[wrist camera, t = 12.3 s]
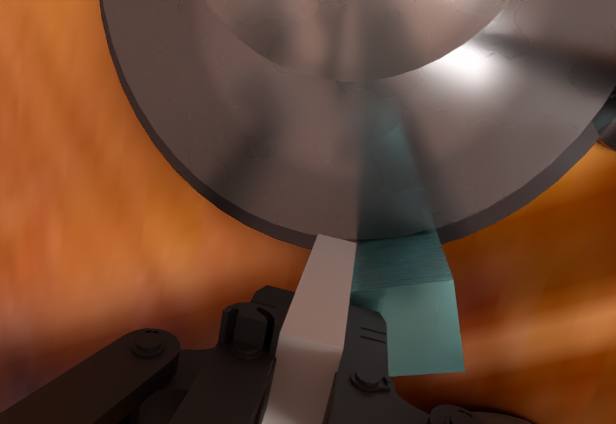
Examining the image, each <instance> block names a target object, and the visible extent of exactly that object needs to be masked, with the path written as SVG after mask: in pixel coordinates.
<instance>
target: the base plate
mask: <svg viewBox="0 0 616 424" xmlns="http://www.w3.org/2000/svg"><path fill="white" fill-rule="evenodd" d="M99 1H100V9H101V17H102V22H103V26H104V30H105V34H106V38H107V42H108V47H109V51H110V54H111V57H112V60H113V63H114V65H115V68H116V71H117V74H118V77H119V79H120V82H121V85H122V87H123V89H124V91H125V93H126V96H127V98H128V100H129V102H130V104H131V106H132V108H133V110H134V112H135V114H136V116H137V118H138V119H139V121H140V122H141V124H142V126H143V127H144V129H145V130H146V132H147V133H148V135H149V137H150V138H151V140H152V141H153V143H154V144H155V146H156V147H157V148H158V149H159V151H160V152H161V153H162V154H163V156H164V157H165V158H166V159H167V161H168V162H169V163H170V164H171V166H172V167H173V168H174V169H175V170H176V171H177V172H178V173H179V174H180V175H181V176H182V177H183V178H184V179H185V180H186V181H187V182H188V183H189V184H190V185H191V186H192V187H193V188H194V189H195V190H196V191H197V192H198V193H200V194H201V195H202V196H204V197H205V198H206V199H207V200H209V201H210V202H211V203H213V204H214V205H215V206H216V207H218V208H219V209H220V210H222V211H223V212H225V213H227V214H228V215H230V216H232V217H233V218H235V219H237V220H238V221H240V222H241V223H243V224H245V225H246V226H248V227H251V228H253V229H255V230H257V231H259V232H262V233H264V234H266V235H268V236H271V237H273V238H275V239H278V240H281V241H284V242H288V243H291V244H294V245H297V246H300V247H304V248H309V249H312V248H313V246H314V243H315V241H316V238H317V235H312V234H307V233H302V232H299V231H296V230H292V229H289V228H286V227H282V226H279V225H276V224H273V223H271V222H269V221H267V220H264V219H262V218H260V217H257V216H255V215H253V214H251V213H248V212H247V211H245V210H243V209H242V208H240V207H238V206H237V205H235V204H233V203H231V202H230V201H228V200H226V199H225V198H223V197H222V196H220V195H219V194H218V193H216V192H215V191H214V190H212V189H211V188H210V187H209V186H207V185H206V184H205V183H203V182H202V181H201V180H199V179H198V178H197V177H196V176H195V175H194V174H193V173H192V172H191V171H190V170H189V169H188V168H187V167H186V166H185V165H184V164H183V163H182V162H181V161H180V160H179V159H178V158H177V157H176V156H175V155H174V154H173V153H172V151H171V150H170V149H169V148H168V146H167V145H166V144H165V143H164V141H163V140H162V139H161V138H160V137H159V135H158V134H157V133H156V131H155V130H154V128H153V127H152V125H151V124H150V122H149V120H148V119H147V117H146V116H145V114H144V113H143V111H142V109H141V108H140V106H139V105H138V103H137V101H136V99H135V97H134V94H133V92H132V90H131V88H130V86H129V84H128V82H127V80H126V78H125V76H124V74H123V71H122V68H121V65H120V63H119V60H118V57H117V54H116V52H115V49H114V46H113V43H112V39H111V35H110V31H109V27H108V23H107V19H106V15H105V11H104V5H103V0H99ZM615 87H616V86H615ZM614 89H615V88H614ZM614 92H615V93H614ZM613 93H614V95H612V94H613ZM615 95H616V89H615V90H613V91H612V92H611V94H610V96H609V97H608V101H607V100H606V102H605V104H604V105H605V106H604V108H603V106H602V108H601V109H600V110H599V111H600V112H598V113H597V115H596V116H594V118H595V119H594V118H593V119H594V121H593V120H591V121H590V123H589V124H588V125H587V126H586V128H585V129H584V130H583V131H582V133H581V134H580V135H579V136H578V138H577V139H576V140H575V141H573V142H572V143H571V144H570V145H569V146H568V147H567V148H566V149H565V150H564V151H563V152H562V153H561V154H560V155H559V156H558V157H557V158H556V159H555V160H554V161H553V162H552V163H551V164H550V165H549V166H548V167H546V168H545V169H544V170H543V171H541V172H540V173H539V174H538V175H536V176H535V177H534V178H533V179H531V180H530V181H529V182H527V183H526V184H525V185H524V186H522V187H521V188H519V189H518V190H516V191H515V192H513V193H511V194H510V195H508V196H506V197H505V198H503V199H502V200H500V201H498V202H497V203H495V204H493V205H492V206H490V207H488V208H486V209H484V210H481V211H479V212H477V213H475V214H473V215H471V216H468V217H466V218H464V219H462V220H460V221H457V222H454V223H451V224H448V225H445V226H442V227H439V228H436V231H437V234H438V237H439V240H440V243H441V244H443V243H446V242H450V241H453V240H456V239H459V238H462V237H465V236H467V235H469V234H472V233H474V232H476V231H478V230H481V229H483V228H485V227H487V226H490V225H492V224H494V223H496V222H498V221H500V220H501V219H503V218H505V217H506V216H508V215H510V214H511V213H513V212H515V211H516V210H518V209H520V208H522V207H523V206H525V205H527V204H528V203H529V202H531V201H532V200H533V199H535V198H536V197H537V196H538V195H540V194H541V193H542V192H544V191H545V190H546V189H548V188H549V187H550V186H552V185H553V184H554V183H556V182H557V181H558V180H559V179H560V178H561V177H562V176H563V175H564V174H565V173H566V172H567V171H568V170H569V169H570V168H571V167H573V166H574V165H575V164H576V163H577V162H578V161H579V160H580V159H581V158H582V157H583V156H584V155H585V154H586V153H587V152H588V150H589V149H590V148H591V147H592V146H593V144H594V143H595V142H596V141H597V140H598V138H599V137H600V135H599V134H598V133H599V132H601V131H599V132H597V131H598V130H599V128H600V130H602V131H603V129H604V128H605V127H604V126H609V125H610V124H609V123H612V121H613V120H614V119H613V118H614V117H616V112H615V111H616V108H613V107H611V104H612V102H614V103H613V104H612V106H614V107H615V106H616V98H615V97H616V96H615ZM611 96H613V98H614V99H613V100H612V97H611ZM614 96H615V97H614ZM611 101H612V102H611ZM608 102H609V103H608ZM610 102H611V103H610ZM609 105H610V106H609ZM605 107H606V109H607V108H608V109H607V110H608V111H609V110H610V109H612V108H613V111H614V112H613V111H612V110H611V111H612V112H611V111H609V112H610V113H609V112H608V111H606V110H605V111H604V109H605ZM614 109H615V110H614ZM602 110H603V111H602ZM601 112H603V113H601ZM606 112H607V113H606ZM600 113H601V114H600ZM611 113H612V115H610V114H611ZM613 113H614V114H615V116H614V114H613ZM598 114H599V115H598ZM600 115H601V116H600ZM602 115H603V116H602ZM604 115H607V117H608V120H609V118H610V120H611V121H610V120H609V121H610V122H609V123H608V120H606V119H607V118H606V119H605V117H606V116H604ZM612 116H614V117H612ZM597 117H598V118H597ZM602 117H603V118H604V119H603V118H602ZM611 117H612V119H611ZM596 118H597V119H596ZM600 119H601V121H600ZM596 120H599V121H596ZM603 120H605V121H603ZM602 121H603V122H602ZM606 121H607V122H606ZM593 122H595V123H594V124H593ZM598 122H599V123H600V122H601V123H600V125H599V123H598ZM596 123H598V124H597V125H598V126H597V125H596ZM603 123H604V125H603ZM605 123H606V124H607V125H605ZM594 125H595V126H594ZM601 125H602V126H603V127H602V126H601ZM596 126H597V128H595V127H596ZM600 126H601V127H600ZM606 128H607V127H606ZM597 129H598V130H597ZM604 130H605V129H604ZM603 132H604V131H603ZM338 239H340V238H338ZM342 240H346V241H350V242H354V243H356V241H357V239H342Z"/></svg>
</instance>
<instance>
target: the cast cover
mask: <svg viewBox="0 0 616 424" xmlns="http://www.w3.org/2000/svg"><path fill="white" fill-rule="evenodd" d="M205 1H206V2H207V4H208V5H209V7H210V8H211V9H212V10H213V12H214V13H215V14H216V15H217V17H218V18H219V19H220V20H221V22H222V23H223V24H224V25H225V26H226V27H227V28H228V29H229V30H230V31H231V32H232V33H233V34H234V35H235V36H236V37H237V38H238V39H239V40H241V41H242V42H243V43H245V44H246V45H247V46H249V47H250V48H251V49H252V50H254V51H255V52H256V53H258V54H259V55H261V56H263V57H265V58H266V59H268V60H270V61H272V62H274V63H275V64H277V65H279V66H281V67H284V68H287V69H289V70H292V71H294V72H297V73H299V74H303V75H307V76H311V77H315V78H319V79H325V80H335V81H344V82H348V81H371V80H377V79H383V78H389V77H394V76H397V75H400V74H403V73H406V72H410V71H413V70H416V69H419V68H421V67H423V66H425V65H427V64H429V63H432V62H434V61H436V60H438V59H440V58H442V57H444V56H445V55H447V54H449V53H450V52H452V51H454V50H455V49H457V48H458V47H460V46H462V45H463V44H465V43H466V42H467V41H468V40H470V39H471V38H472V37H473V36H475V35H476V34H477V33H479V32H480V31H481V30H482V29H484V28H485V27H486V26H487V25H488V24H489V23H490V22H491V21H492V20H493V19H494V18H495V17H496V16H497V15H498V14H499V13H500V12H501V11H502V10H503V9H504V8H505V7H506V6H507V5H508V4H509V2H510V1H511V0H205Z"/></svg>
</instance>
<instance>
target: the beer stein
mask: <svg viewBox="0 0 616 424" xmlns="http://www.w3.org/2000/svg"><path fill="white" fill-rule="evenodd" d="M472 413H474V414H475V415H476V416H477V417H479V418H480V419H481V420H483V421H484V422H485V423H486V424H532V423H530V422H528V421H526V420H523V419H520V418H516V417H512V416H508V415H505V414H498V413H489V412H472Z"/></svg>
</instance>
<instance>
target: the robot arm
mask: <svg viewBox="0 0 616 424" xmlns="http://www.w3.org/2000/svg"><path fill="white" fill-rule="evenodd" d="M356 244H357V243H354V242H350V241H346V240H342V239H338V238H333V237H329V236H325V235H321V234H318V235H317V238H316V241H315V243H314V246H313V248H312V251H311V254H310V256H309V259H308V261H307V264H306V267H305V269H304V272H303V274H302V277H301V279H300V282H299V285H298V287H297V290H296V292H292V291H288V290H284V289H280V288H276V287H272V286H268V285H267V286H265V287H263V288H262V289H260V290H258V291H256V293H255V294H254V296H253V298H252V300H251V302H250V303H249V302H246V303H236V304H233V305H230V306H228V307H227V308H226V309H225V310H223V313H222V320H221V327H220V333H219V340H218V343H217V345H216V347H215V348H211V349H206V350H180V343H179V341H178V339H177V337H175V336H174V335H172V334H171V333H170V332H167V331H164V330H160V329H148V328H146V329H141V330H135V331H133V332H130V333H128V334H126V335H124V336H122V337H121V338H119V339H118V340H116V341H114V342H113V343H111V344H110V345H108V346H106V347H105V348H103V349H102V350H100V351H98V352H97V353H95V354H94V355H92V356H91V357H89V358H87V359H86V360H84V361H83V362H81V363H79V364H78V365H76V366H75V367H73V368H71V369H70V370H68V371H67V372H65V373H64V374H62V375H60V376H59V377H57V378H56V379H54V380H52V381H51V382H49V383H48V384H46V385H44V386H43V387H41V388H40V389H38V390H36V391H35V392H33V393H32V394H30V395H29V396H27V397H25V398H24V399H22V400H21V401H19V402H17V403H16V404H14V405H13V406H11V407H9V408H8V409H6V410H5V411H3V412H2V413H0V424H486V423H485V422H484V421H483V420H481V419H480V418H479V417H477V416H476V415H475V414H474V413H472V412H470V411H468V410H466V409H464V408H462V407H458V406H454V405H450V404H447V405H438V406H436V407H435V408H433V409H432V410H431V413H430V414H428V413H426V412H424V411H422V410H420V409H418V408H416V407H414V406H412V405H411V404H409V403H407V402H406V401H405V400H403V399H402V398H401V397H400V396H399V395H398V394H397V393H396V387H395V384H394V381H393V380H392V379H391V377H390V376H389V372H388V347H387V323H386V321H385V320H384V318H383V317H382V315H381V314H380V312H377V311H373V310H369V309H365V308H361V307H357V306H353V305H349V300H350V292H351V284H352V276H353V268H354V260H355V252H356Z"/></svg>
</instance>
